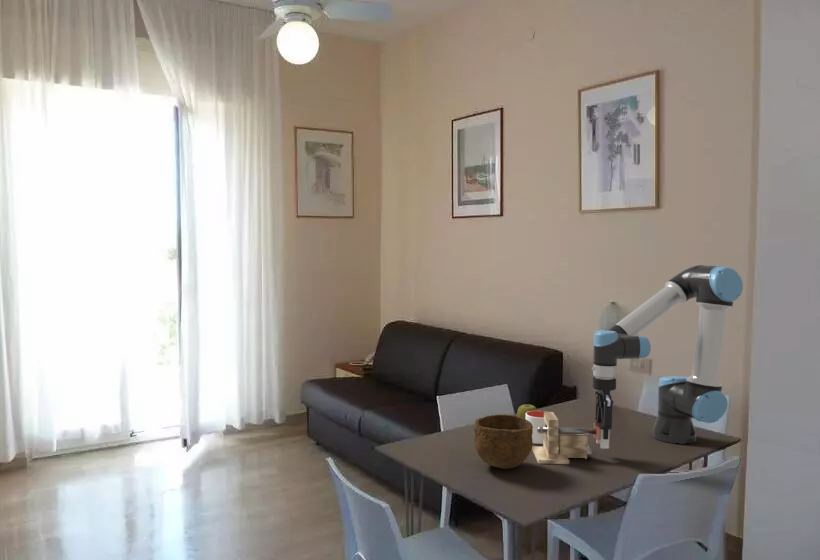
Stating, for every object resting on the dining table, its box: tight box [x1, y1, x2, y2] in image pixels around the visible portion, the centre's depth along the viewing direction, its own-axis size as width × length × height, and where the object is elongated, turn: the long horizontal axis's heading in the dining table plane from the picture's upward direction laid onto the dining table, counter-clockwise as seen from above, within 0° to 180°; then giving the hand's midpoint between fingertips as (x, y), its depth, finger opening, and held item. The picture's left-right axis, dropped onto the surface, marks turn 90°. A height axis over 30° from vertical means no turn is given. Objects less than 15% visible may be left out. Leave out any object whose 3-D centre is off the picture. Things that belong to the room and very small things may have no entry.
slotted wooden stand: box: [531, 411, 589, 465], centre depth 217 cm, size 17×14×14 cm
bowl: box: [473, 413, 533, 470], centre depth 207 cm, size 19×19×15 cm
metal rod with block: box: [537, 422, 611, 441], centre depth 217 cm, size 24×4×4 cm, turn 88°
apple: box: [516, 404, 538, 419], centre depth 257 cm, size 8×8×7 cm
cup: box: [525, 410, 547, 445], centre depth 234 cm, size 10×10×10 cm
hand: (602, 445), depth 217 cm, fingers closed on metal rod with block, 4 cm apart
